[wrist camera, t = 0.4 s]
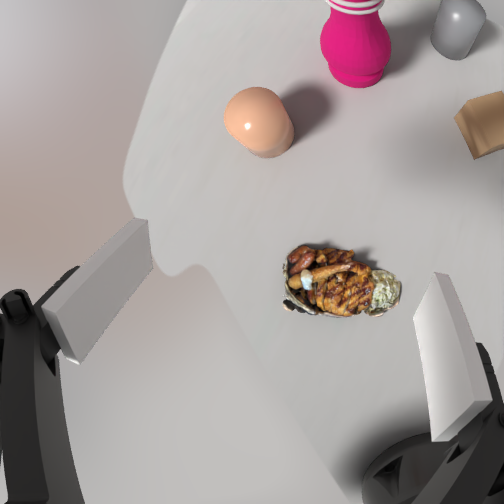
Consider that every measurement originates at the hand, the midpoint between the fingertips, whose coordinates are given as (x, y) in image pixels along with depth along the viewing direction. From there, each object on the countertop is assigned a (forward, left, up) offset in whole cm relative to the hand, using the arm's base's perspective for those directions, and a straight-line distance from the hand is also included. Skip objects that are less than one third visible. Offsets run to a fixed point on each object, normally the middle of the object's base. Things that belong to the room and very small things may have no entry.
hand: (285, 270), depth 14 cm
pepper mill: (+20, -7, -19) cm, 29 cm away
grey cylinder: (+23, -20, -18) cm, 36 cm away
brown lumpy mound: (-3, -2, -19) cm, 19 cm away
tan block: (+11, -20, -19) cm, 30 cm away
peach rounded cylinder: (+13, +4, -19) cm, 23 cm away
